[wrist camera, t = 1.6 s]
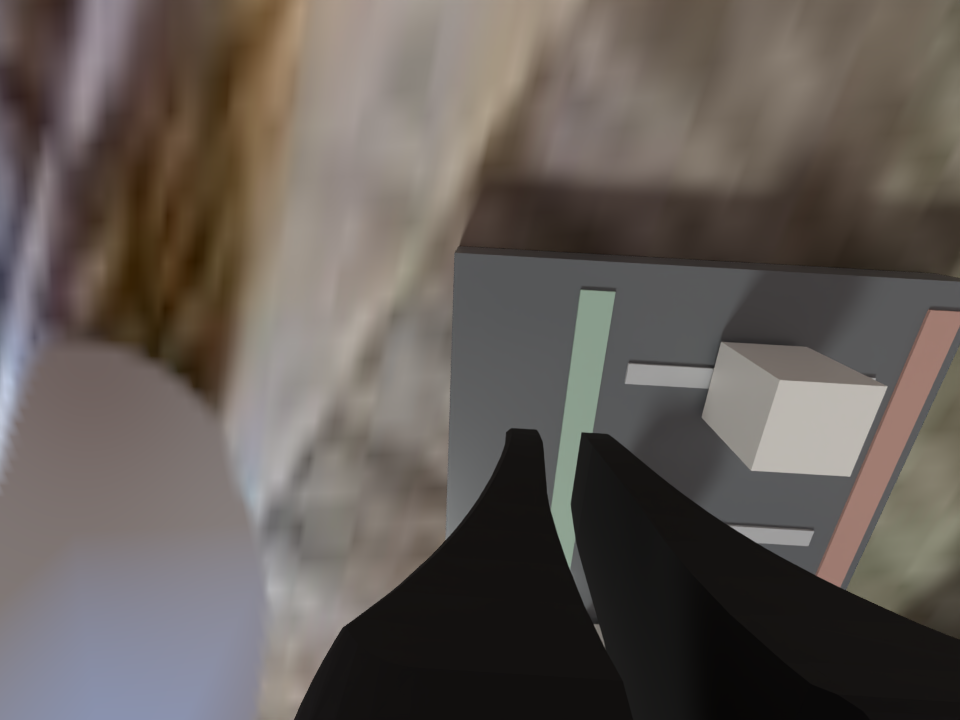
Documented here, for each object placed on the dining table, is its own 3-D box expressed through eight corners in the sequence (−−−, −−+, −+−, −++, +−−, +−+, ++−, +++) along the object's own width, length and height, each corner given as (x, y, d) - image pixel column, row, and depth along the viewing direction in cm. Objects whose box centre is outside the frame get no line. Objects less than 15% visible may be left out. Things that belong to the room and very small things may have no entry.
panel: (932, 273, 17) (991, 284, 15) (767, 670, 25) (791, 711, 23) (458, 246, 17) (454, 253, 15) (444, 649, 25) (440, 688, 23)
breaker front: (806, 346, 15) (887, 386, 12) (781, 422, 17) (850, 476, 13) (721, 341, 15) (780, 380, 12) (701, 417, 17) (750, 470, 13)
